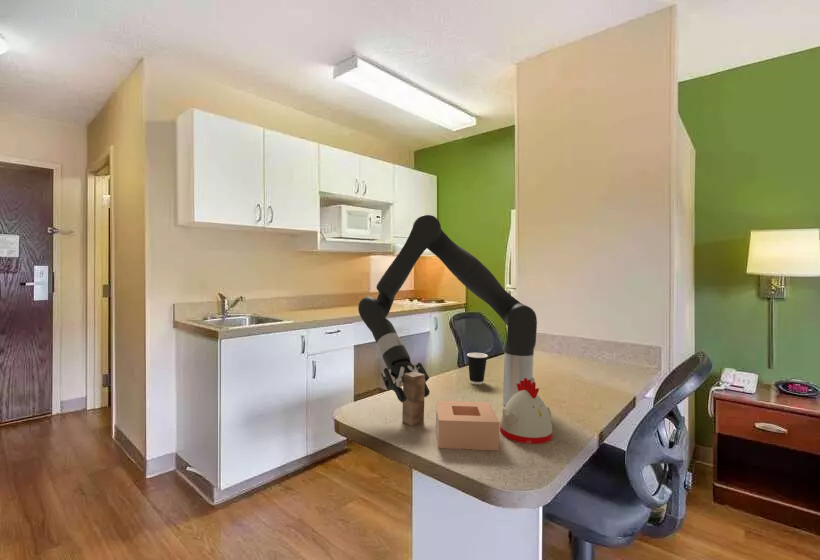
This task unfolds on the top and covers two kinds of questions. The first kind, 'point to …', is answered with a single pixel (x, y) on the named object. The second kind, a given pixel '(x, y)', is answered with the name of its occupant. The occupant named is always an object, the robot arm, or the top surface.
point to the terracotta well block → (466, 425)
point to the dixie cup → (477, 367)
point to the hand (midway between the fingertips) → (415, 398)
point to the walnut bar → (413, 398)
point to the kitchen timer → (526, 416)
